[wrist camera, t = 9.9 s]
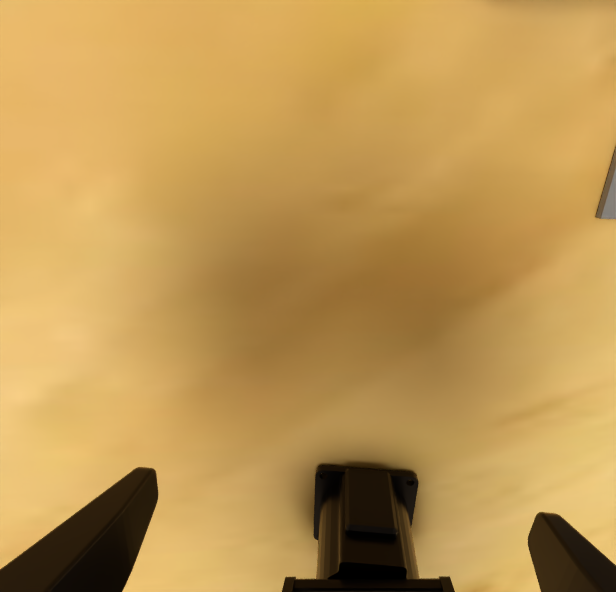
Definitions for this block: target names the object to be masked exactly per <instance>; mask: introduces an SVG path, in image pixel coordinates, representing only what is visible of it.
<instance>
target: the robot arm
mask: <svg viewBox="0 0 616 592" xmlns="http://www.w3.org/2000/svg"><path fill="white" fill-rule="evenodd" d="M321 473H325V474H321ZM408 480H411V481H408ZM417 488H418V478H417V475H416V474H415V473H413V472H406V471H393V470H380V469H366V468H353V467H340V466H326V465H321V466H319V467H317V469H316V476H315V508H314V538H315V539H316V540H319V541H318V558H317V576H316V579H296V577H286V578H285V581H284V586H283V590H282V592H455V591H454V588H453V585H452V582H451V579H450V577H439V579H419V573H418V567H417V561H416V556H415V550H414V544H413V539H412V533H411V525H412V519H413V513H414V507H415V501H416V495H417ZM157 500H158V486H157V476H156V471H155V470H154V469H153V468H145V467H138V468H136V469H134V470H133V471H131V472H130V473H129V474H127V475H126V476H125V477H123V478H122V479H121V480H119V481H118V482H117V483H115V484H114V485H113V486H111V487H110V488H109V489H107V490H106V491H105V492H103V493H102V494H101V495H99V496H98V497H97V498H95V499H94V500H93V501H91V502H90V503H89V504H87V505H86V506H85V507H83V508H82V509H81V510H79V511H78V512H77V513H75V514H74V515H73V516H71V517H70V518H69V519H67V520H66V521H65V522H63V523H62V524H61V525H59V526H58V527H57V528H55V529H54V530H53V531H51V532H50V533H48V534H47V535H46V536H44V537H43V538H42V539H40V540H39V541H38V542H36V543H35V544H34V545H32V546H31V547H30V548H28V549H27V550H26V551H24V552H23V553H22V554H20V555H19V556H18V557H16V558H15V559H14V560H12V561H11V562H10V563H8V564H7V565H6V566H4V567H3V568H2V569H0V592H122V591H123V589H124V587H125V585H126V583H127V580H128V578H129V576H130V574H131V571H132V569H133V566H134V564H135V561H136V559H137V556H138V553H139V550H140V548H141V545H142V542H143V539H144V537H145V534H146V531H147V529H148V526H149V523H150V520H151V518H152V515H153V512H154V510H155V507H156V504H157ZM528 547H529V551H530V554H531V558H532V561H533V565H534V568H535V572H536V575H537V579H538V582H539V586H540V589H541V592H616V565H615V564H614V563H612V562H611V561H610V560H609V559H608V558H607V557H606V556H605V555H604V554H602V553H601V552H600V551H599V550H598V549H597V548H596V547H595V546H593V545H592V544H591V543H590V542H589V541H588V540H587V539H586V538H585V537H583V536H582V535H581V534H580V533H579V532H578V531H577V530H576V529H574V528H573V527H572V526H571V525H570V524H569V523H568V522H567V521H566V520H564V519H563V518H562V517H561V516H559V515H558V514H554V513H545V512H539V513H538V514H537V515H536V517H535V520H534V522H533V525H532V528H531V530H530V533H529V536H528Z"/></svg>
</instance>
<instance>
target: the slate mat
mask: <svg viewBox="0 0 616 592" xmlns="http://www.w3.org/2000/svg"><path fill="white" fill-rule="evenodd" d="M596 217H597V218H600V219H616V149H615V152H614V156H613V159H612V163H611V166H610V170H609V173H608V176H607V180H606V183H605V187H604V190H603V194H602V197H601V201H600V204H599V207H598V211H597V214H596Z"/></svg>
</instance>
